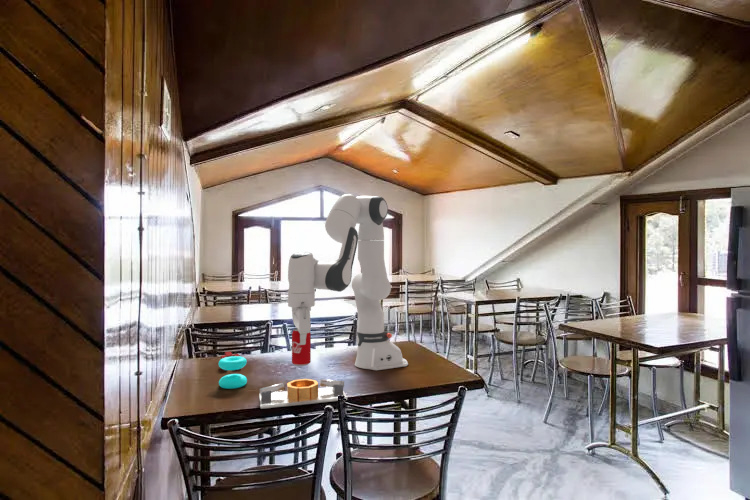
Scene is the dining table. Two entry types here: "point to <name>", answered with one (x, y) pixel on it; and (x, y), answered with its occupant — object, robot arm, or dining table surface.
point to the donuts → (232, 379)
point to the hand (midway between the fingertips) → (301, 341)
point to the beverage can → (300, 349)
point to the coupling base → (301, 393)
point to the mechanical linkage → (228, 354)
